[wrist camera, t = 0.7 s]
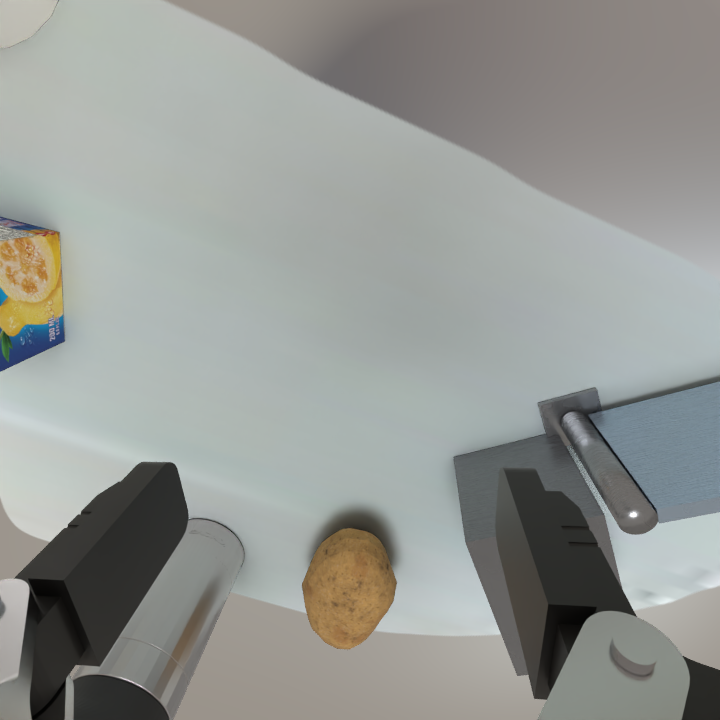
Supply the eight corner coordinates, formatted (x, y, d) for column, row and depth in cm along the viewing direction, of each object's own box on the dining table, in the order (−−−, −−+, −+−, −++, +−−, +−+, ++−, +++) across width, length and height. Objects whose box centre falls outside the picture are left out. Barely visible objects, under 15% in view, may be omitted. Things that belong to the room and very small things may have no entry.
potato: (411, 515, 47) (411, 578, 39) (382, 602, 52) (377, 671, 45) (323, 493, 47) (307, 552, 40) (304, 582, 53) (286, 648, 45)
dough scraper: (563, 436, 40) (621, 537, 29) (557, 415, 39) (614, 510, 28) (767, 386, 36) (926, 480, 25) (765, 361, 35) (928, 447, 24)
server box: (630, 547, 45) (693, 654, 35) (495, 571, 48) (517, 675, 38) (595, 387, 39) (658, 461, 29) (442, 428, 42) (451, 507, 32)
